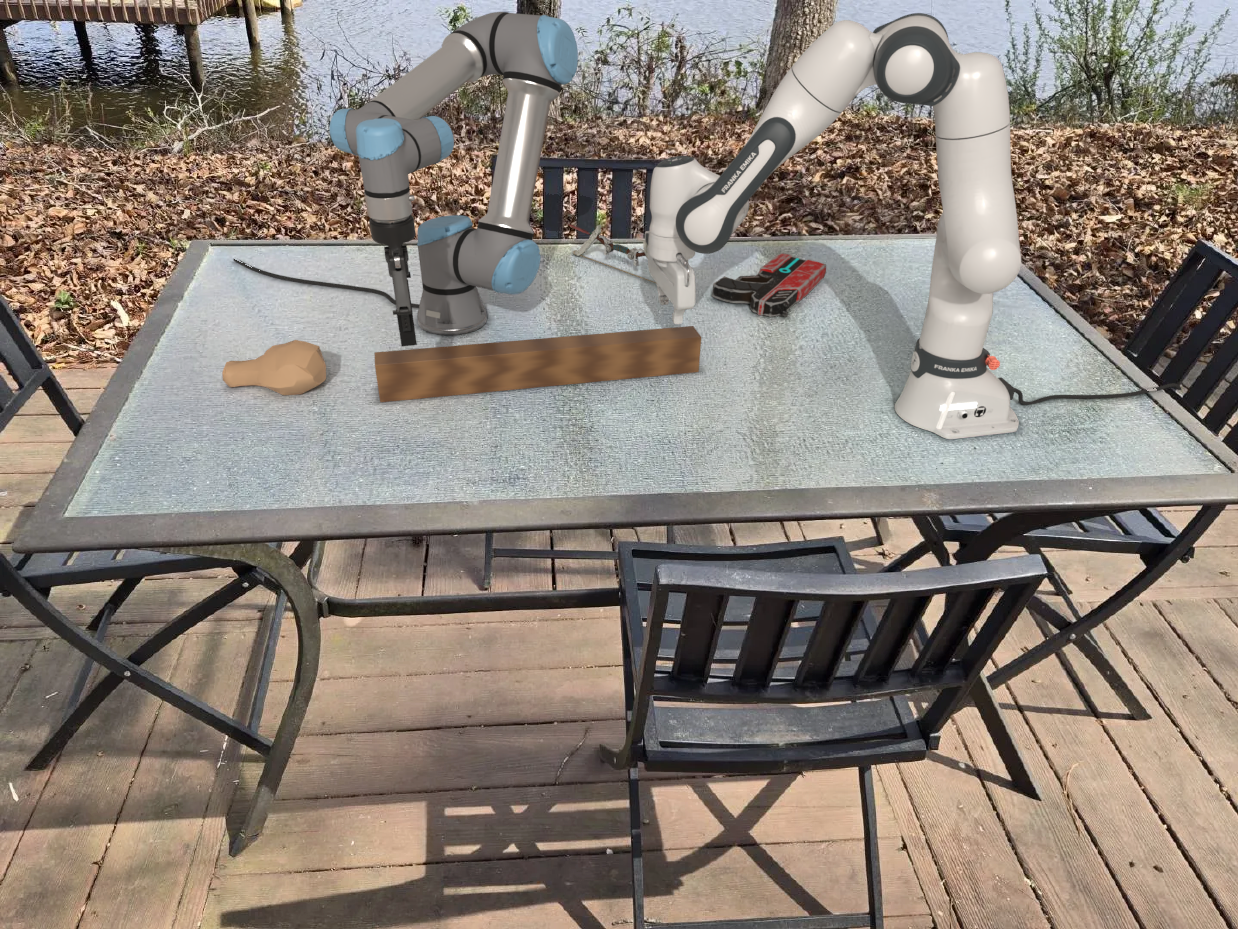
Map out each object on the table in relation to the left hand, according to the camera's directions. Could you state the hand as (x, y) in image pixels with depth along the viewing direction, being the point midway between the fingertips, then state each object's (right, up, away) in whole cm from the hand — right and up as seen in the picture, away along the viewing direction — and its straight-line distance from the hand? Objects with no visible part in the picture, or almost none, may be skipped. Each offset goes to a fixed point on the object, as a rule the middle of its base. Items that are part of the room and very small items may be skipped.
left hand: (407, 328), depth 163 cm
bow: (+40, +24, +62) cm, 78 cm away
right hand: (+50, +5, +11) cm, 51 cm away
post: (+24, -8, +12) cm, 29 cm away
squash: (-27, -10, +7) cm, 30 cm away
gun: (+77, +17, +54) cm, 95 cm away
